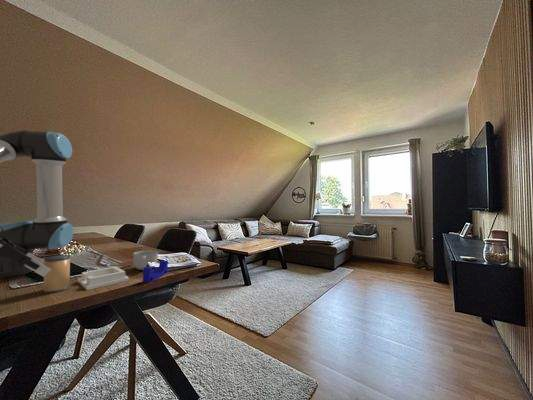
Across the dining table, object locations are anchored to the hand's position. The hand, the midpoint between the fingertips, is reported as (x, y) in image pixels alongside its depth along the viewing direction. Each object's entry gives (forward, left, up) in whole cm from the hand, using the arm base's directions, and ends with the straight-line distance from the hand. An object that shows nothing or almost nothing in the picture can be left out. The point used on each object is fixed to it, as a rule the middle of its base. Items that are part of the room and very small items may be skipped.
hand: (44, 269), depth 80 cm
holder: (+1, +17, -8) cm, 19 cm away
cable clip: (+12, +33, -9) cm, 36 cm away
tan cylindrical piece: (-1, +3, -9) cm, 9 cm away
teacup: (-4, +35, -9) cm, 37 cm away
